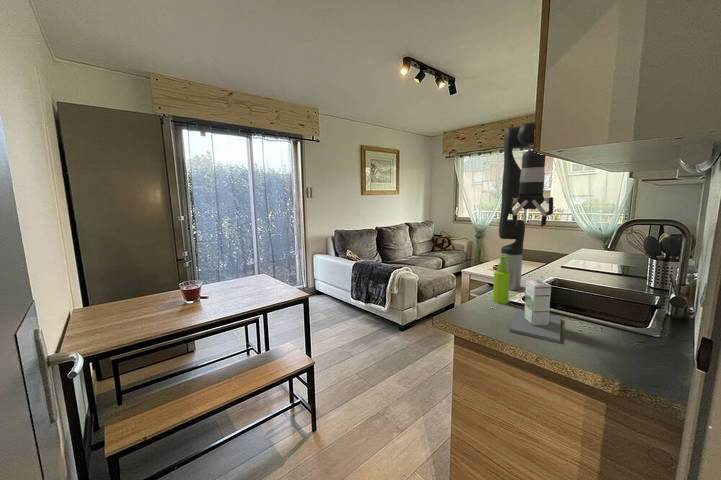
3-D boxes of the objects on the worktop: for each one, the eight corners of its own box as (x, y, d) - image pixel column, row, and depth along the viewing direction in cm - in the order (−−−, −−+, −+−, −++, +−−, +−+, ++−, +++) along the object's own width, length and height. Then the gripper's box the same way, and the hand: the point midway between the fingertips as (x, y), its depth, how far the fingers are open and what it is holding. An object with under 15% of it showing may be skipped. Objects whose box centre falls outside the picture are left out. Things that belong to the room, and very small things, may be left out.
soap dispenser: (513, 303, 120) (516, 257, 117) (496, 304, 120) (498, 257, 117) (506, 298, 126) (509, 254, 122) (490, 298, 126) (492, 254, 123)
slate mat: (517, 311, 112) (517, 308, 112) (560, 319, 104) (560, 316, 104) (509, 331, 96) (509, 328, 96) (559, 343, 88) (560, 340, 88)
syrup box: (549, 325, 98) (552, 284, 95) (531, 325, 98) (534, 285, 96) (539, 318, 103) (542, 279, 101) (522, 318, 104) (525, 280, 101)
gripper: (556, 180, 101) (552, 225, 104) (511, 181, 109) (508, 223, 112) (555, 180, 95) (551, 228, 98) (508, 181, 103) (505, 226, 106)
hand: (528, 225), depth 105 cm, fingers open, 8 cm apart
